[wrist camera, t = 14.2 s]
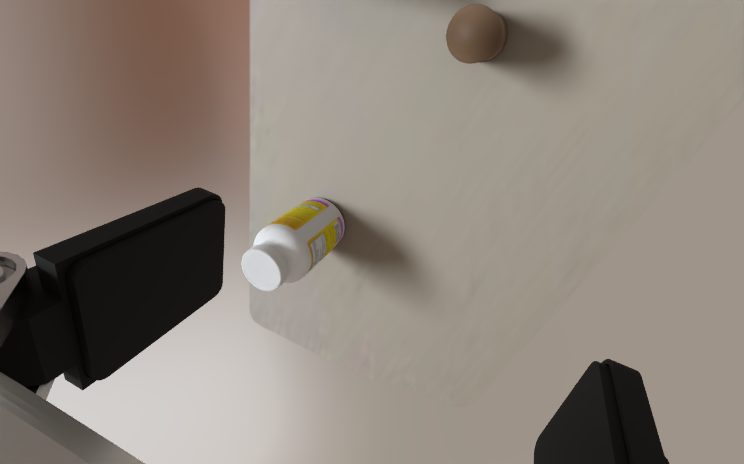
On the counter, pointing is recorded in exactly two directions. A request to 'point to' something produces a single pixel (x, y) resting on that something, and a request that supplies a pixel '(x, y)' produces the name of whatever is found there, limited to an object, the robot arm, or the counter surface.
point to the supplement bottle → (293, 244)
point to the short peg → (476, 34)
